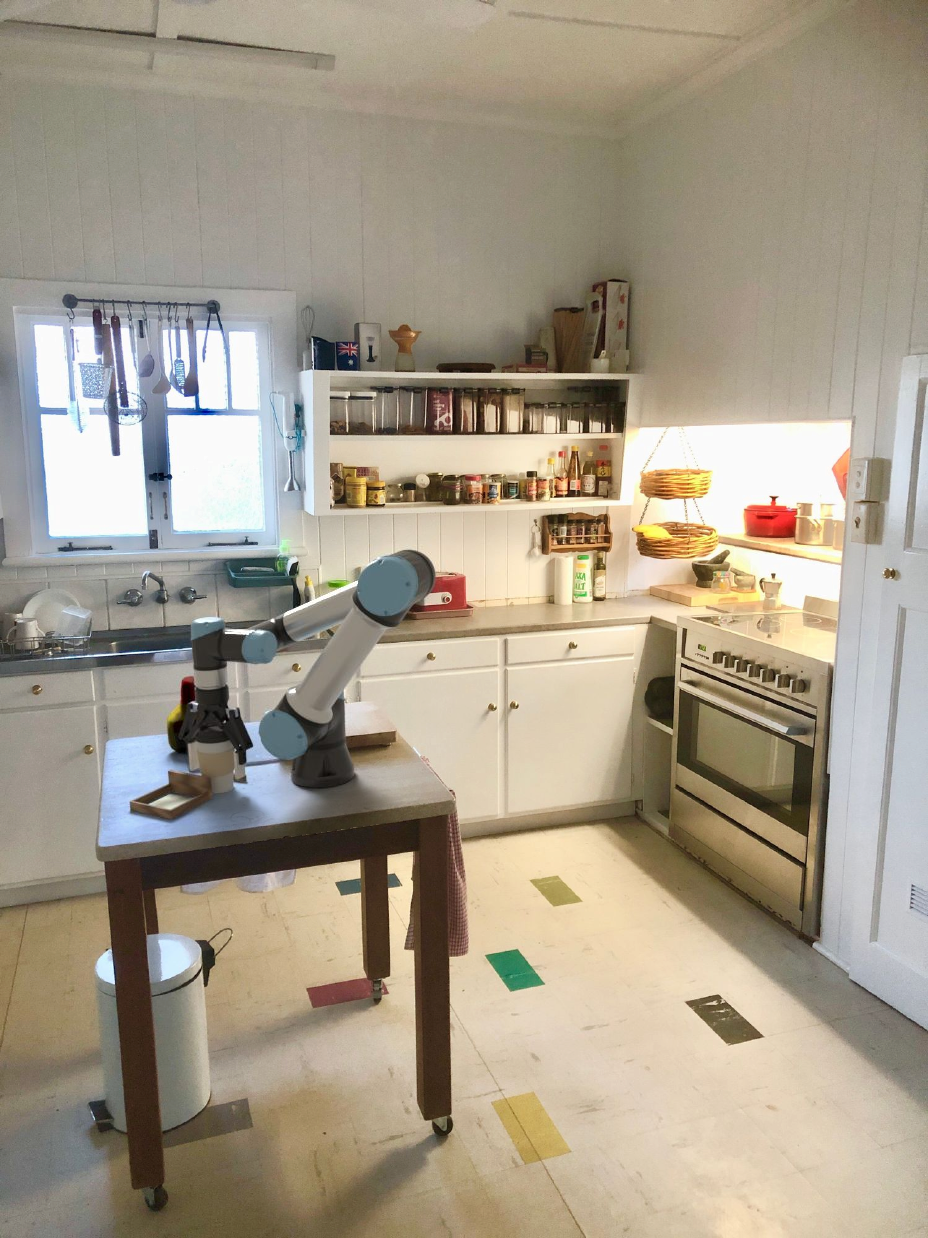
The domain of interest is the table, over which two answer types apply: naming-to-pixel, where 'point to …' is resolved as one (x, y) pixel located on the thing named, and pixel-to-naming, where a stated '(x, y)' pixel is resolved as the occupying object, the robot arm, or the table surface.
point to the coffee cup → (215, 757)
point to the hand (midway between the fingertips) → (217, 773)
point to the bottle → (181, 715)
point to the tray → (174, 803)
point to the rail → (240, 778)
